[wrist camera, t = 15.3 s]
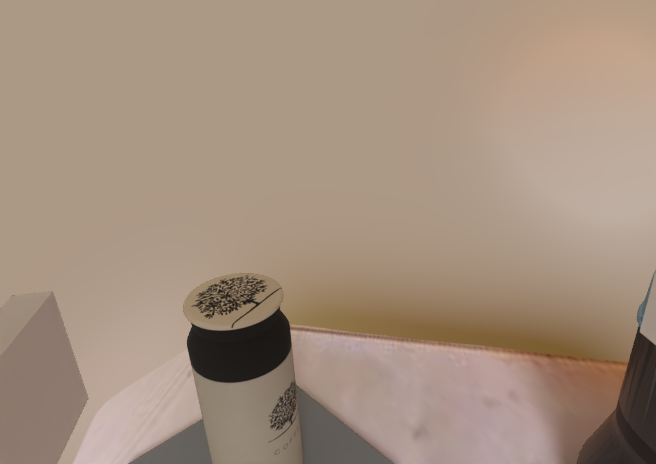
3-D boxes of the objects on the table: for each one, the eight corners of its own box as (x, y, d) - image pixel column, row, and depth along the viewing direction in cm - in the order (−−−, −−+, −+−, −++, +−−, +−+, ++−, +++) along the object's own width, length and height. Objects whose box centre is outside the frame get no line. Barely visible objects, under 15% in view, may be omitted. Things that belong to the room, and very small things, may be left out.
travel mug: (197, 471, 43) (157, 302, 35) (262, 417, 48) (240, 261, 41) (256, 524, 38) (224, 342, 30) (321, 458, 43) (307, 289, 36)
